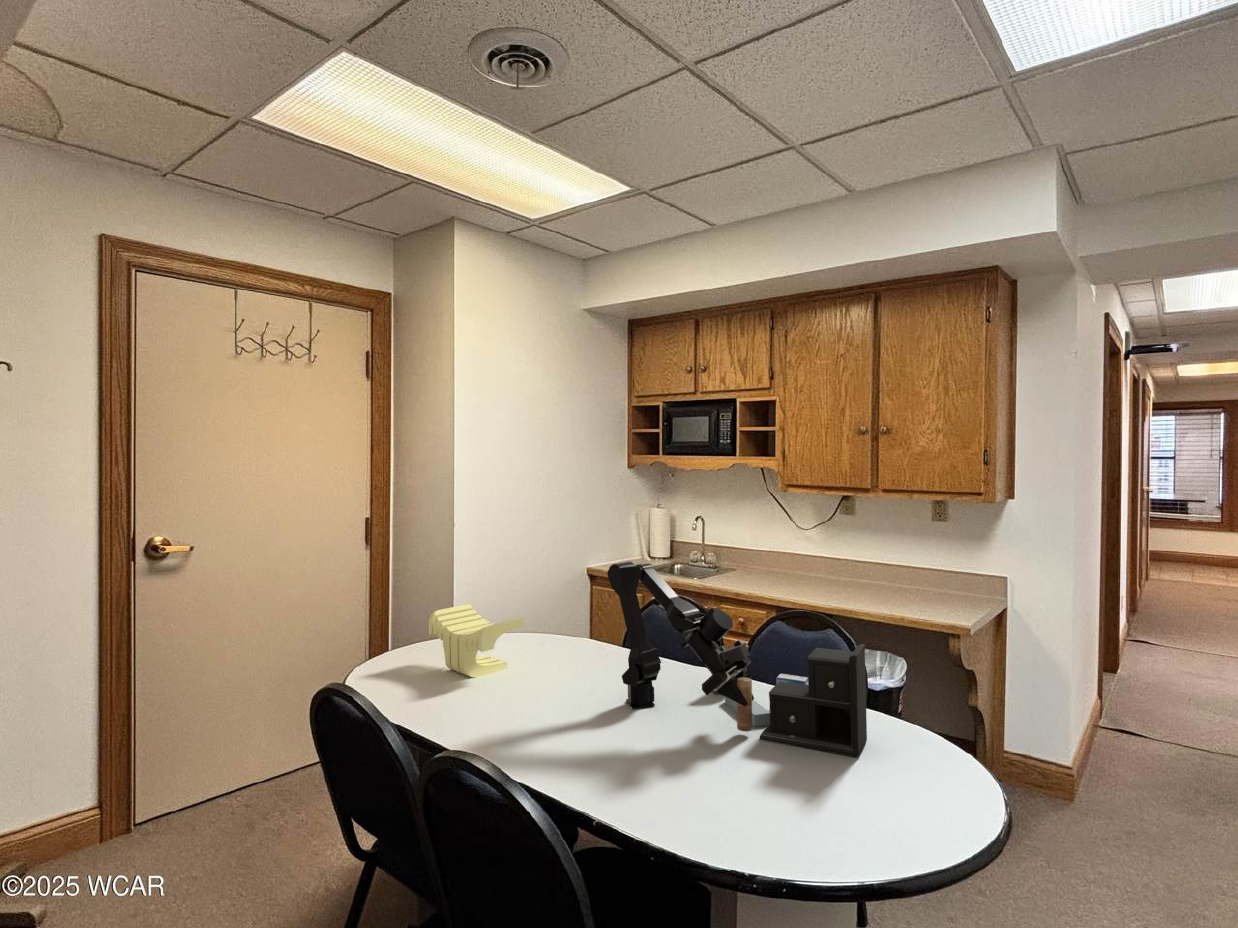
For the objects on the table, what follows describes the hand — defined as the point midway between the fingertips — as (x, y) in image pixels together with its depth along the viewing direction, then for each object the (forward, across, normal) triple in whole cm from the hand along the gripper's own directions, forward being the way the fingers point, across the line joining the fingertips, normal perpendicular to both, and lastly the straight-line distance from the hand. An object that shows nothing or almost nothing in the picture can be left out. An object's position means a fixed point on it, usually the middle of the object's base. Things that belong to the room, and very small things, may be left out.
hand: (749, 702), depth 173 cm
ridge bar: (+1, +14, +10) cm, 17 cm away
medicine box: (+8, +23, +4) cm, 25 cm away
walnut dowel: (+4, 0, +6) cm, 7 cm away
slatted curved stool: (-61, +6, +74) cm, 96 cm away
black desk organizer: (+16, +5, -4) cm, 17 cm away
